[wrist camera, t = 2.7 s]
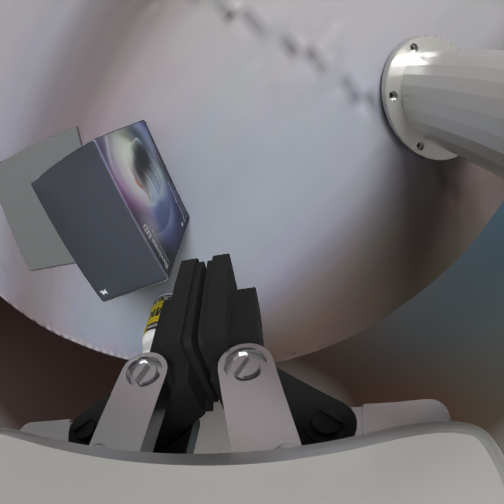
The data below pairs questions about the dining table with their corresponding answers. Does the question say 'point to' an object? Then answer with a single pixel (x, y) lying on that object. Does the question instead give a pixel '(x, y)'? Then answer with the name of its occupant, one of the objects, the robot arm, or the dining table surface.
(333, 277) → the dining table surface
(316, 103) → the dining table surface
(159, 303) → the supplement bottle
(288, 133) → the dining table surface
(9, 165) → the mat
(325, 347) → the dining table surface
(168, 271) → the small box
